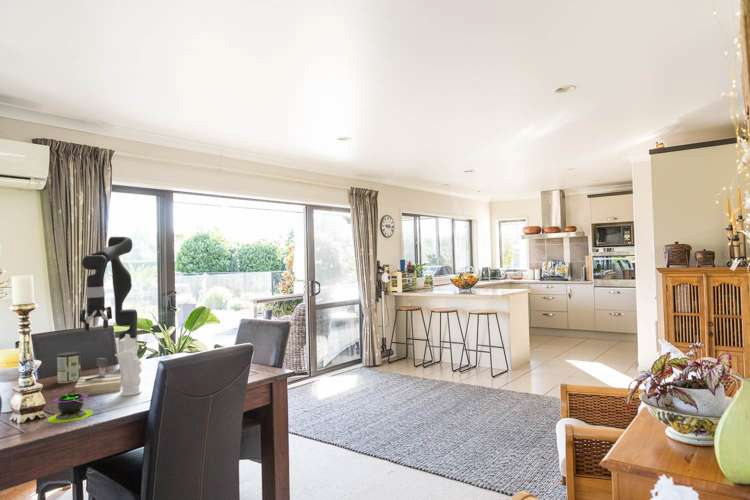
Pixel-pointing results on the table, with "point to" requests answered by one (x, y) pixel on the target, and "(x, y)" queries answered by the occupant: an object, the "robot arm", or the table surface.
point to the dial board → (99, 384)
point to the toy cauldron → (70, 408)
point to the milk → (126, 347)
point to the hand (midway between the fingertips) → (96, 329)
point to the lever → (100, 368)
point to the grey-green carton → (68, 367)
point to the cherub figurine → (130, 372)
